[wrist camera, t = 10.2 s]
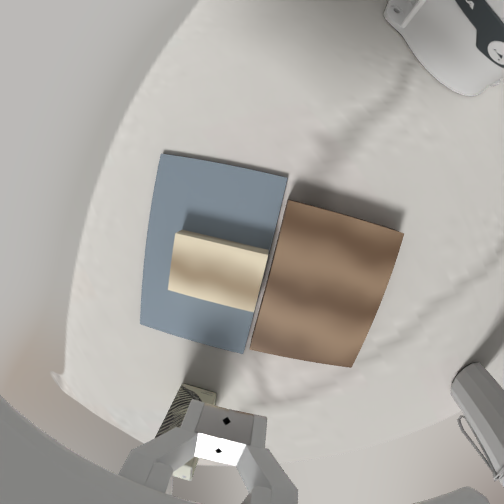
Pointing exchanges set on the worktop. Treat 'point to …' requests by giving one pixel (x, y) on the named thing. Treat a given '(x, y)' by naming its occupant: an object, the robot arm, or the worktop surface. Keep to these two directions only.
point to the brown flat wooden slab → (324, 285)
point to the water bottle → (482, 413)
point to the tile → (217, 270)
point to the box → (176, 419)
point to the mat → (207, 223)
